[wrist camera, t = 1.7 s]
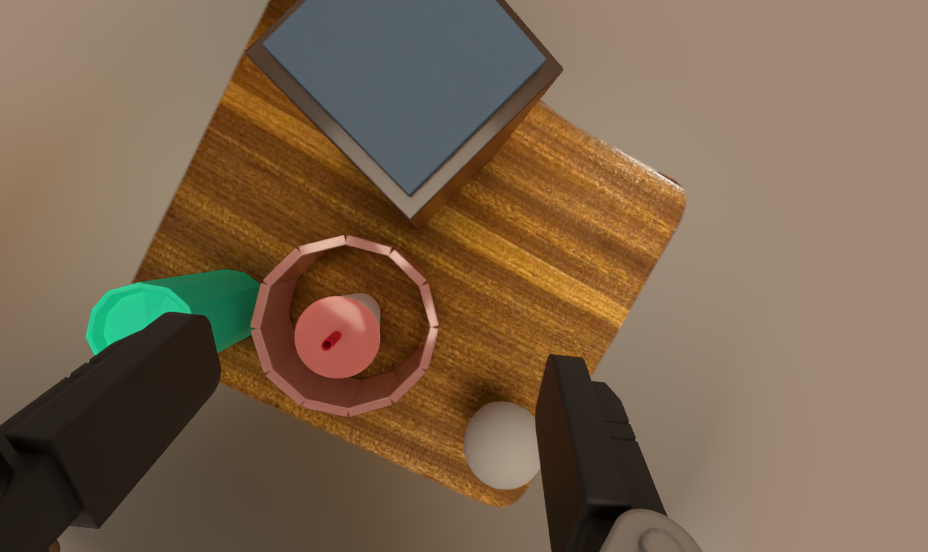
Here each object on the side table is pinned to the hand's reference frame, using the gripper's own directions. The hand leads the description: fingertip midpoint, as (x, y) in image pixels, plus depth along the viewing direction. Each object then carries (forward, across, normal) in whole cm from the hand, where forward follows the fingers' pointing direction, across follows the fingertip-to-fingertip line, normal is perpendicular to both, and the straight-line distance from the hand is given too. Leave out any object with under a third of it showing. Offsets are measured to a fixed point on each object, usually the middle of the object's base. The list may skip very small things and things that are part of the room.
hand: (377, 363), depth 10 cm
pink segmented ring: (+21, +7, +13) cm, 26 cm away
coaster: (+11, +1, -6) cm, 12 cm away
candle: (+20, +17, +13) cm, 30 cm away
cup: (+22, +7, +13) cm, 26 cm away
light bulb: (+20, -5, +20) cm, 29 cm away
